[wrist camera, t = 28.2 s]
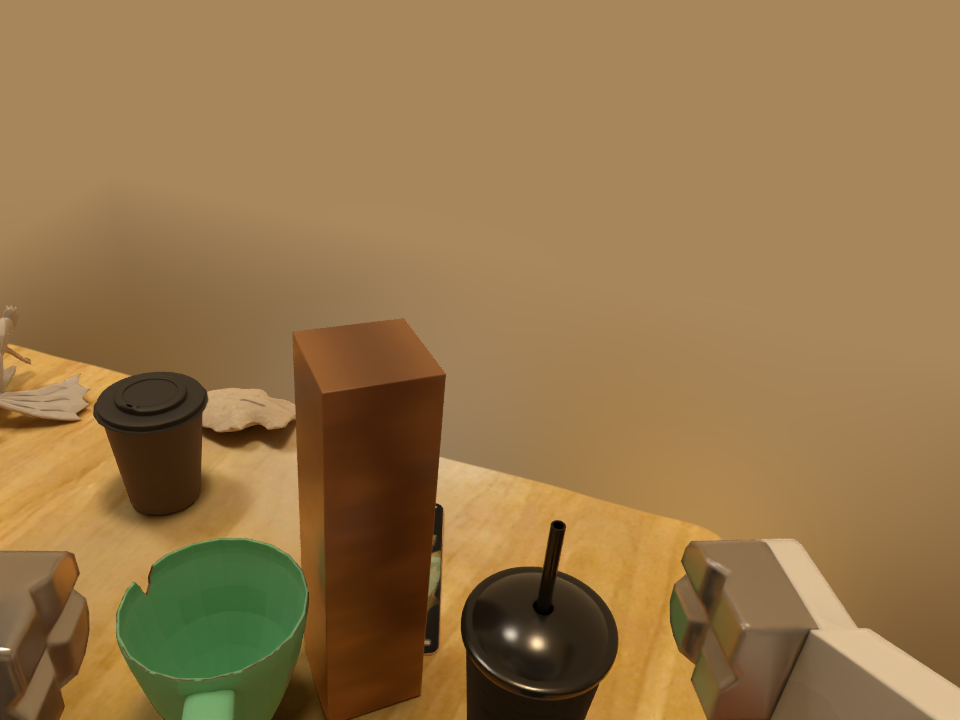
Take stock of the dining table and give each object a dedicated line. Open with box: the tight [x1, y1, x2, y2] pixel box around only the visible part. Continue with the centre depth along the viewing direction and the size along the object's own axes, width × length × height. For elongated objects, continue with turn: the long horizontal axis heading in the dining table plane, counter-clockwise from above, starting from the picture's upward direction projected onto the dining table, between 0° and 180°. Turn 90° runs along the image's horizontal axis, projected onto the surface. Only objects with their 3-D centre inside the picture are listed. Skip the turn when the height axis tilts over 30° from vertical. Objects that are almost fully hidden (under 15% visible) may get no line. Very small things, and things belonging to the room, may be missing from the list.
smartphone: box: [424, 503, 443, 656], centre depth 57 cm, size 7×1×15 cm
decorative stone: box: [202, 388, 296, 432], centre depth 71 cm, size 8×12×3 cm
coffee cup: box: [93, 372, 209, 515], centre depth 59 cm, size 8×8×10 cm
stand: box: [293, 318, 446, 720], centre depth 43 cm, size 6×6×24 cm
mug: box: [116, 538, 309, 720], centre depth 41 cm, size 15×10×10 cm
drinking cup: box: [461, 520, 618, 720], centre depth 38 cm, size 8×8×20 cm
